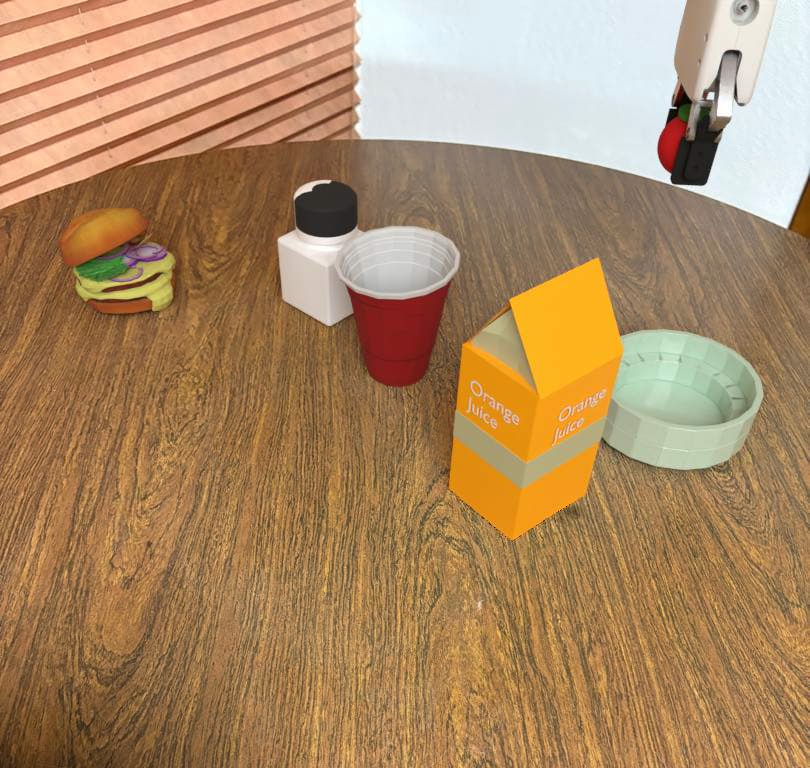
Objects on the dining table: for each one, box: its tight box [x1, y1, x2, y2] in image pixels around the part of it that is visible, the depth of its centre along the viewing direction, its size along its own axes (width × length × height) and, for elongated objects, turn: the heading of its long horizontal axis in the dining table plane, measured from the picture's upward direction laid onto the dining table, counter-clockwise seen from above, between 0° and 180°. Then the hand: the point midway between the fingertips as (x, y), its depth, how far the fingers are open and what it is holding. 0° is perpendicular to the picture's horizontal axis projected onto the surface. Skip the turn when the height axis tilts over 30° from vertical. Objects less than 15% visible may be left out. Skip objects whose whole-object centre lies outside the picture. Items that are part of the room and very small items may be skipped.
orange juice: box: [448, 256, 624, 544], centre depth 64 cm, size 8×9×20 cm
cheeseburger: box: [58, 207, 177, 315], centre depth 87 cm, size 10×11×10 cm
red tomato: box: [656, 104, 718, 174], centre depth 77 cm, size 5×5×6 cm
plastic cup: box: [334, 225, 461, 388], centre depth 78 cm, size 11×11×12 cm
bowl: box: [601, 328, 765, 471], centre depth 76 cm, size 14×14×5 cm
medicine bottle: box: [277, 179, 366, 327], centre depth 85 cm, size 7×7×12 cm
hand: (682, 166), depth 78 cm, fingers closed on red tomato, 5 cm apart
